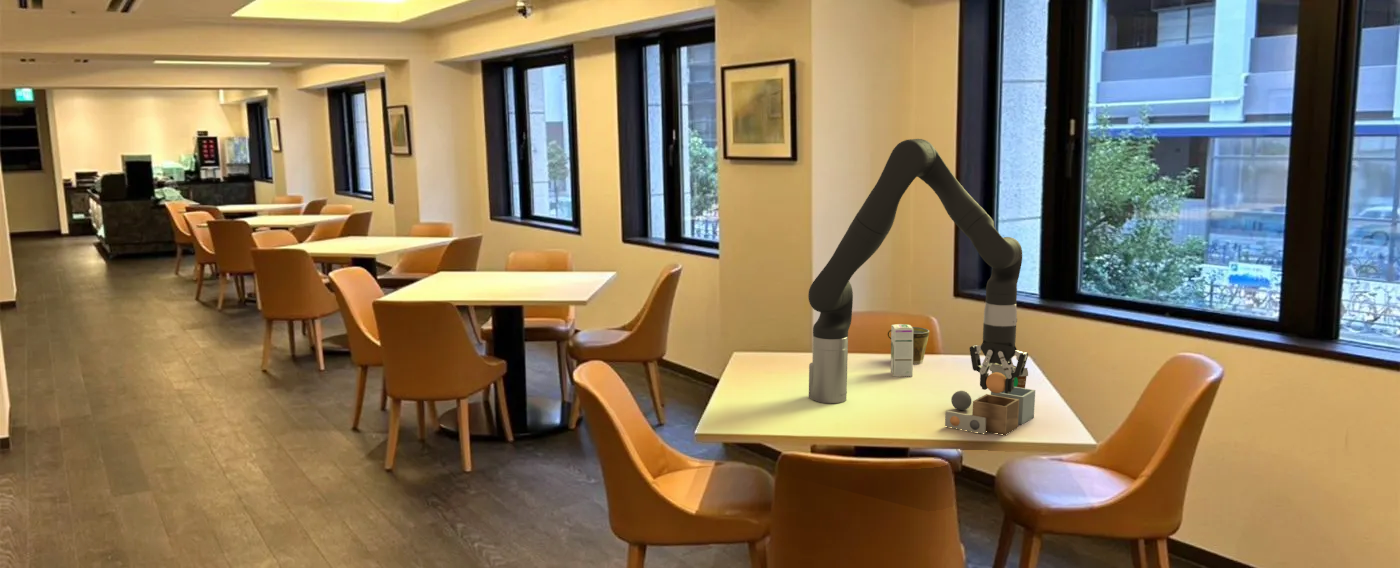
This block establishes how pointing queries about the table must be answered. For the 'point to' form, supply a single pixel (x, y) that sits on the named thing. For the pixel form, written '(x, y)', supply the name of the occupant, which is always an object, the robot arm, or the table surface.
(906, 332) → the syrup box
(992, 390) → the orange ball
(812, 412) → the table surface
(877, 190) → the robot arm
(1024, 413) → the slate bin
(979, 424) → the card
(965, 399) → the charcoal ball
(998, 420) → the brown bin
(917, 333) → the ceramic cup
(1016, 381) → the food container
